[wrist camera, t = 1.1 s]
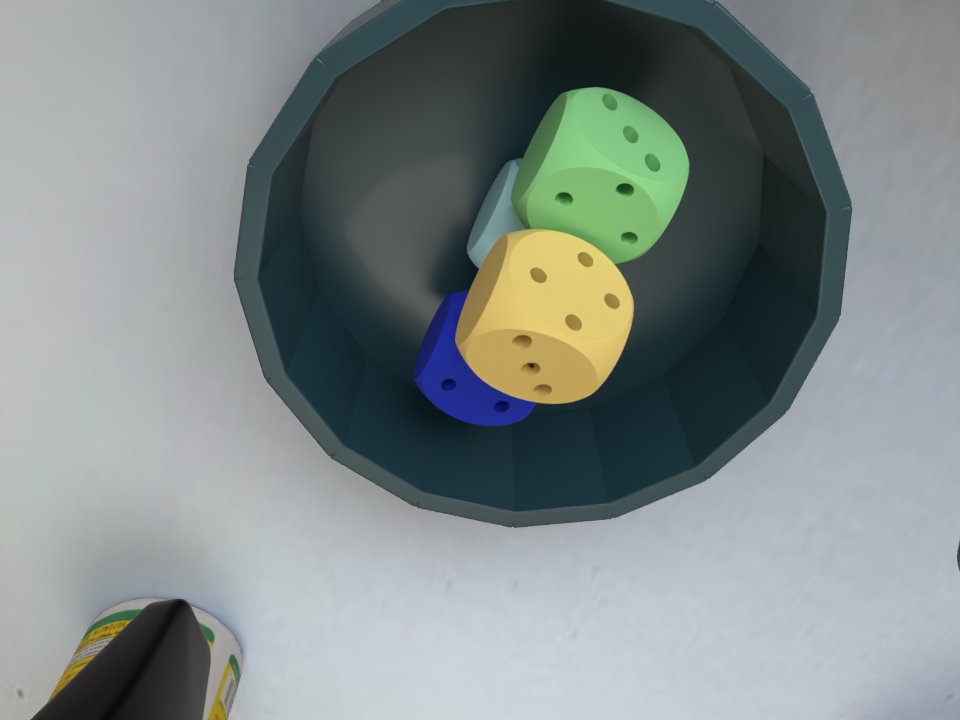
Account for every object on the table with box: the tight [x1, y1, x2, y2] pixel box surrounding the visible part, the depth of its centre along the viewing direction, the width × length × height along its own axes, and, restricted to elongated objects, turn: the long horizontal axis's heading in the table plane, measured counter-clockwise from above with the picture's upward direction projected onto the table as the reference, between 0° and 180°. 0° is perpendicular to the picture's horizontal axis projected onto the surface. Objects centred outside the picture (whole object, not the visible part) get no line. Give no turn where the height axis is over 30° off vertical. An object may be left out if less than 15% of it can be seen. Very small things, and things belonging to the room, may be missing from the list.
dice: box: [413, 87, 689, 426], centre depth 17 cm, size 8×3×6 cm, turn 154°
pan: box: [234, 0, 852, 528], centre depth 18 cm, size 12×12×4 cm
